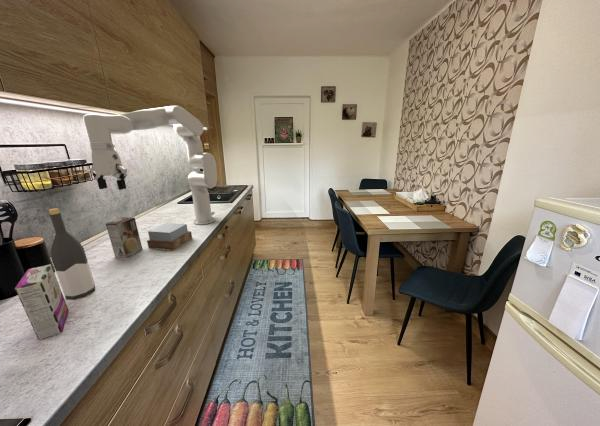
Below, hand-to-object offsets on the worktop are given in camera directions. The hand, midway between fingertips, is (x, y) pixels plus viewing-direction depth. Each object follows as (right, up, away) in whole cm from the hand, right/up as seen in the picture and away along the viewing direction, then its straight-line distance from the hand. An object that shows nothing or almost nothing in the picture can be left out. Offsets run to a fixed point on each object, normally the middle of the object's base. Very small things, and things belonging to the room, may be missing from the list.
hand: (113, 188), depth 103 cm
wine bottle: (+5, -38, -20) cm, 43 cm away
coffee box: (0, -29, +9) cm, 30 cm away
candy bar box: (+10, -42, -34) cm, 55 cm away
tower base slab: (+15, -26, +19) cm, 35 cm away
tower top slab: (+15, -22, +18) cm, 31 cm away
